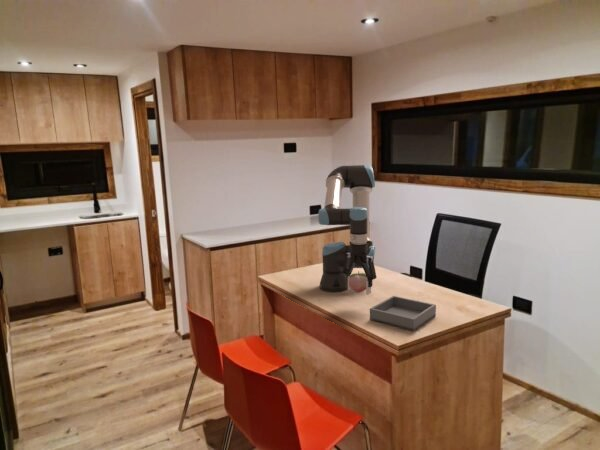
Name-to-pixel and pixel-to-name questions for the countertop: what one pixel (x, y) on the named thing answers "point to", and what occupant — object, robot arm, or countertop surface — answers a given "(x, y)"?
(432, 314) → the bin
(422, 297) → the countertop surface
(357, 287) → the decorative fruit
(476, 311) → the countertop surface
